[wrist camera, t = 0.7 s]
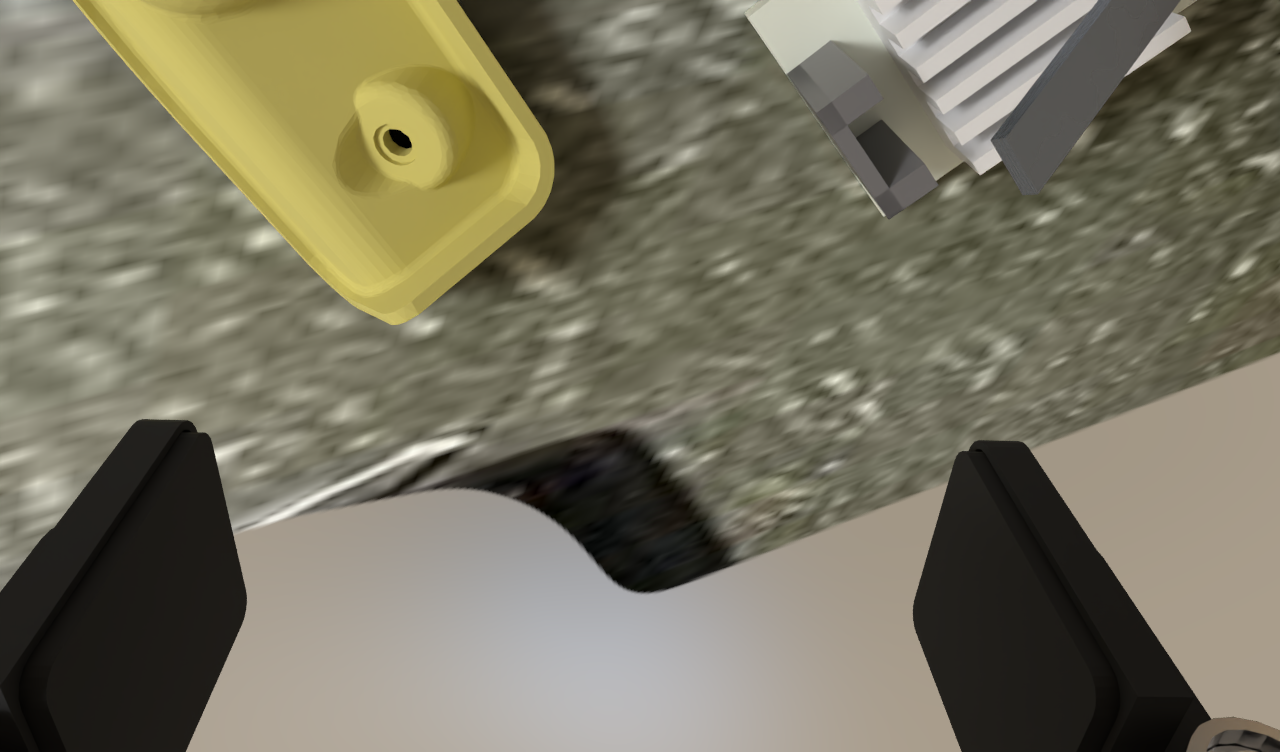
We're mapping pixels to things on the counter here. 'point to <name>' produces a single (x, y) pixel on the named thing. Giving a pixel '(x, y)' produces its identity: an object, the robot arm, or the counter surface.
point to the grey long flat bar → (1076, 87)
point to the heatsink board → (921, 77)
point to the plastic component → (349, 130)
